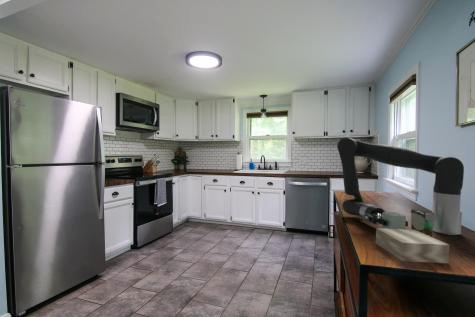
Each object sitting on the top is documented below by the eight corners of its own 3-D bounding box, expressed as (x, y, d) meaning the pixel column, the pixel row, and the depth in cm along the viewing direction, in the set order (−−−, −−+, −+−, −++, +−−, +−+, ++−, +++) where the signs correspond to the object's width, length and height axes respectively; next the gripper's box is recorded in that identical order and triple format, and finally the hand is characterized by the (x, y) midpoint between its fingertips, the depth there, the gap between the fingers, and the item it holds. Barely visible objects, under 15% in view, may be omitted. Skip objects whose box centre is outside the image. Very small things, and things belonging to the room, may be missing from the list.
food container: (442, 241, 95) (444, 216, 95) (424, 240, 97) (426, 214, 96) (425, 232, 107) (426, 209, 107) (409, 230, 109) (410, 208, 108)
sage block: (394, 235, 101) (395, 212, 101) (404, 240, 96) (405, 215, 95) (381, 235, 101) (382, 212, 101) (390, 239, 95) (391, 215, 95)
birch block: (414, 246, 90) (414, 229, 90) (448, 264, 75) (449, 244, 75) (375, 244, 91) (376, 228, 90) (402, 262, 76) (403, 242, 75)
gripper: (357, 205, 112) (379, 213, 96) (387, 206, 113) (415, 214, 96) (356, 221, 112) (378, 233, 96) (386, 222, 113) (414, 233, 97)
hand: (396, 223), depth 96 cm, fingers open, 8 cm apart
